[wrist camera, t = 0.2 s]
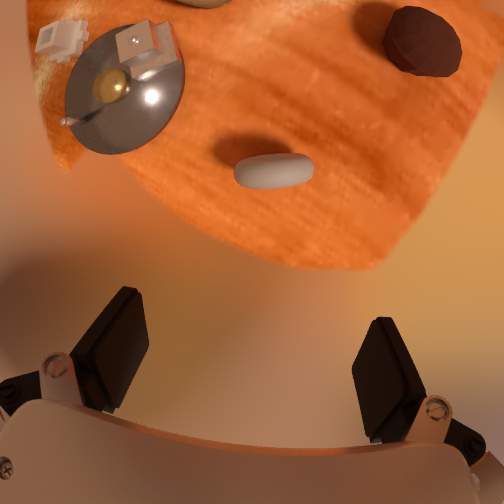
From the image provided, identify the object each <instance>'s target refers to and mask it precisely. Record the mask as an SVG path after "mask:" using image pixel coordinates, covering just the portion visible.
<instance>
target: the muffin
mask: <svg viewBox="0 0 504 504" xmlns="http://www.w3.org/2000/svg"><path fill="white" fill-rule="evenodd" d="M382 43H383V45H384V47H385V50H386V52H387V56H388V59H389V60H391V61H392V62H393V63H394V64H395V65H396V66H397V67H398V68H399V69H400V70H401V71H402V72H408V73H411V74H414V75H416V76H432V77H449V76H450V75H452V74H453V73H454V72H456V71H457V70H458V67H459V64H460V60H461V56H462V49H461V44H460V39H459V37H458V36H457V34H456V32H455V31H454V29H453V27H452V26H451V25H450V24H448V23H447V22H446V21H445V20H444V19H443V18H442V17H440V16H438V15H436V14H434V13H432V12H430V11H428V10H426V9H424V8H422V7H415V6H405V7H403V8H401V9H399V10H397V11H395V12H394V15H393V17H392V20H391V22H390V24H389V26H388V28H387V29H386V34H385V38H384V40H383V42H382Z"/></svg>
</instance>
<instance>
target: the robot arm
mask: <svg viewBox="0 0 504 504" xmlns="http://www.w3.org/2000/svg"><path fill="white" fill-rule="evenodd" d="M148 347H149V339H148V333H147V327H146V321H145V315H144V308H143V302H142V295H141V293H139V292H138V290H137V289H136V288H132V287H126V286H123V287H122V288H121V289H120V290H119V291H118V293H117V294H116V295H115V296H114V298H113V299H112V300H111V301H110V302H109V304H108V305H107V306H106V307H105V309H104V310H103V311H102V312H101V314H100V315H99V316H98V317H97V319H96V320H95V321H94V322H93V324H92V325H91V326H90V328H89V329H88V330H87V332H86V333H85V334H84V335H83V337H82V338H81V340H80V341H79V342H78V343H77V345H76V346H75V347H74V349H73V350H72V352H71V353H70V354H69V355H68V354H66V353H64V352H54V353H51V354H48V355H47V356H46V357H44V358H43V360H42V361H41V363H40V365H39V370H38V371H35V372H32V373H28V374H24V375H21V376H17V377H13V378H9V379H6V380H4V381H3V382H1V383H0V504H501V503H502V501H503V500H504V466H503V465H502V464H501V463H500V462H499V461H498V460H497V459H496V457H495V456H494V455H493V454H492V453H491V452H490V451H488V452H487V453H486V452H485V450H486V443H485V441H484V438H483V437H482V436H481V435H480V434H479V433H477V432H476V431H474V430H472V429H470V428H468V427H467V426H465V425H463V424H461V423H459V422H458V421H456V420H455V419H453V418H452V413H453V412H452V407H451V405H450V403H449V402H448V401H447V400H446V399H445V398H443V397H441V396H439V395H430V396H428V397H427V395H426V393H425V392H426V390H425V388H424V385H423V383H422V381H421V378H420V376H419V374H418V371H417V369H416V367H415V365H414V363H413V360H412V358H411V356H410V354H409V352H408V350H407V348H406V346H405V343H404V341H403V339H402V337H401V335H400V333H399V331H398V329H397V327H396V325H395V323H394V321H393V320H392V318H391V317H377V318H376V320H373V321H372V323H371V325H370V327H369V330H368V332H367V335H366V337H365V339H364V341H363V344H362V346H361V348H360V350H359V352H358V355H357V357H356V359H355V361H354V363H353V365H352V375H353V379H354V383H355V388H356V392H357V396H358V401H359V405H360V410H361V414H362V420H363V424H364V429H365V434H366V436H367V437H369V438H370V443H378V442H382V444H378V445H368V446H356V447H343V448H342V447H341V448H315V449H314V448H311V449H310V448H307V449H306V448H304V449H303V448H273V447H259V446H248V445H238V444H231V443H224V442H216V441H211V440H204V439H199V438H194V437H189V436H184V435H179V434H175V433H170V432H166V431H162V430H158V429H154V428H150V427H147V426H143V425H140V424H137V423H133V422H130V421H127V420H124V419H120V418H117V417H114V416H111V415H108V414H105V413H103V412H102V410H103V411H106V412H109V413H112V414H113V412H114V410H115V408H119V407H120V405H121V403H122V401H123V399H124V397H125V395H126V393H127V390H128V388H129V386H130V384H131V382H132V380H133V378H134V376H135V374H136V372H137V370H138V367H139V366H140V364H141V362H142V360H143V357H144V356H145V354H146V352H147V350H148Z"/></svg>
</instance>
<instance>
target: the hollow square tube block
mask: <svg viewBox="0 0 504 504" xmlns="http://www.w3.org/2000/svg"><path fill="white" fill-rule="evenodd" d="M87 26H88V21H86V20H83V19H81V20H78V21H77V20H75V19H71V20H68V21H66V22H64V21H61V20H58V21H56V22H53V23H51V24H49V25H47V26H44V27H42V28H40V32H39V36H38V40H37V44H36V48H35V53H42V54H48V55H49V59H48V62H51V63H58V64H66V63H70V59H71V58H72V57H76V56H79V55H81V54H82V48H83V44H84V42H86V41H88V37H89V33H90V32H87V31H86V30H87Z"/></svg>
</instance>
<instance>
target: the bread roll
mask: <svg viewBox="0 0 504 504" xmlns="http://www.w3.org/2000/svg"><path fill="white" fill-rule="evenodd" d="M176 1H179V2H181V3H185V4H188V5H192V6H196V7H203V8H215V7H220V6H222V5H224V4H227V3H228V2H230V1H232V0H176Z"/></svg>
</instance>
